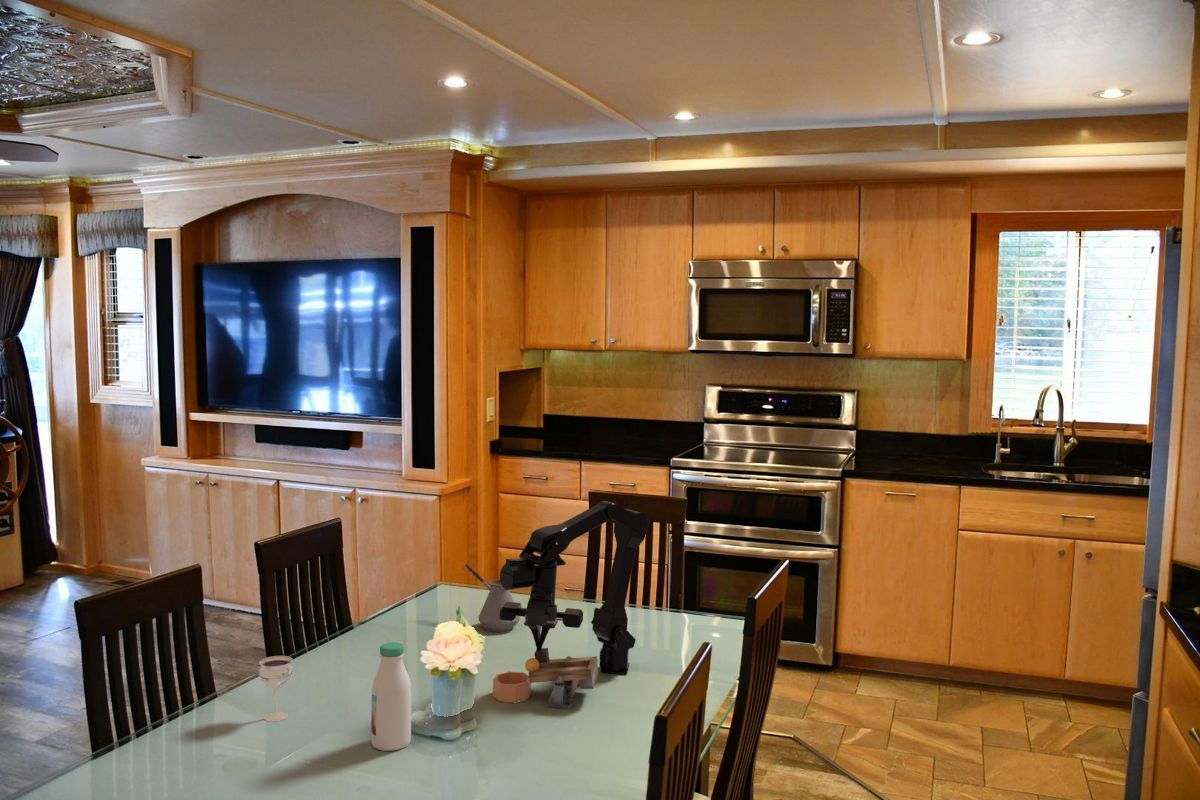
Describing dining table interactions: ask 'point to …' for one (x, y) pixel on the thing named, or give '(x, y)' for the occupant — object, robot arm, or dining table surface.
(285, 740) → the dining table surface
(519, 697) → the terracotta octagonal container
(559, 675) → the lever
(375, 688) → the milk bottle
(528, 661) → the ball
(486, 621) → the coffee pot
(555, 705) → the stand
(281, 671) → the wineglass
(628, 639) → the robot arm
